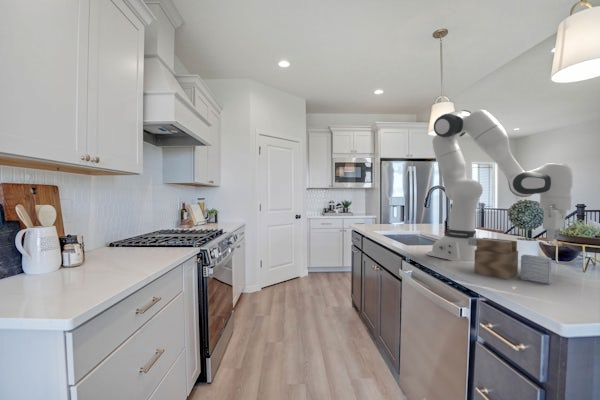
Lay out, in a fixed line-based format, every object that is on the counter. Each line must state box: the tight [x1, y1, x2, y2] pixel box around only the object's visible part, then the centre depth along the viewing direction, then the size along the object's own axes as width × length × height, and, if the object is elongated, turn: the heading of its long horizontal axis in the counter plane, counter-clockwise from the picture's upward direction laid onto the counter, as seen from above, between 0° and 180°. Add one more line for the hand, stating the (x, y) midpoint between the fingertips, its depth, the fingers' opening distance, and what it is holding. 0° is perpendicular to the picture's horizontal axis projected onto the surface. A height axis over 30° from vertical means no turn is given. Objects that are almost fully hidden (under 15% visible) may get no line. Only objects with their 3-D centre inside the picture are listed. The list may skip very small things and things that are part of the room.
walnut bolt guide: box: [474, 237, 519, 281], centre depth 105 cm, size 11×12×13 cm
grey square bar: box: [468, 237, 512, 246], centre depth 107 cm, size 14×3×3 cm, turn 38°
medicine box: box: [520, 254, 552, 285], centre depth 96 cm, size 8×4×9 cm, turn 41°
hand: (552, 240), depth 104 cm, fingers open, 8 cm apart
